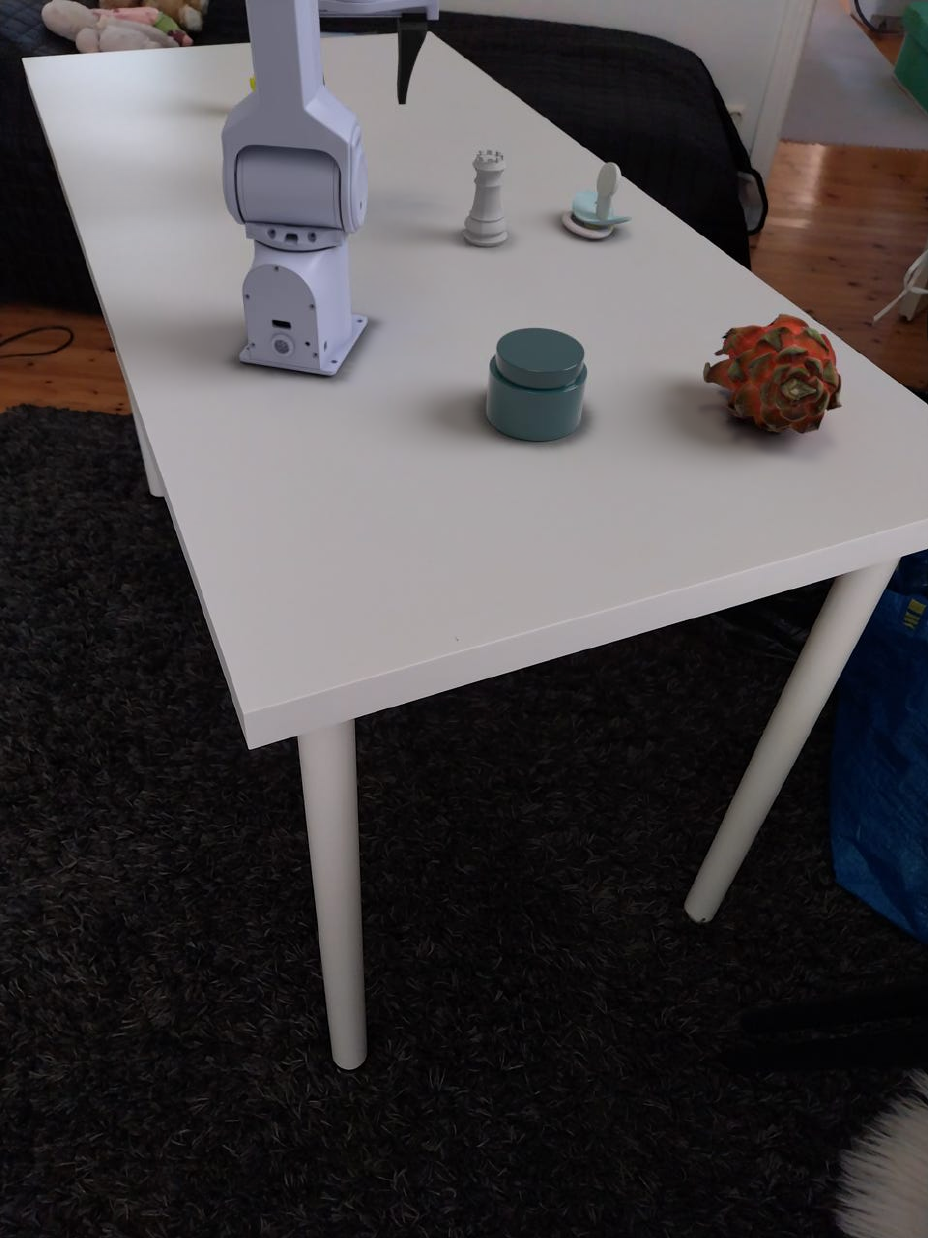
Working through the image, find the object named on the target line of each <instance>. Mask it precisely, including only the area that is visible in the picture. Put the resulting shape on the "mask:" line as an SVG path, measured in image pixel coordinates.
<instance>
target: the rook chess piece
mask: <svg viewBox="0 0 928 1238" xmlns="http://www.w3.org/2000/svg"><path fill="white" fill-rule="evenodd" d="M493 150H494V149H492V148H487V149H486V154H485V150H484V149H480V150H478V152H476V158H475V159H474V160H473V161H472V167H473V169H474V171H475V173H476V175H475V177H474V178H473V182H474V184H475V191H474V195H473V196H474V197H473V201H472V206H471V209H470V210H469V211H468V215H467V216H466V217H465V219H464V223H463V226H464V227H465V229H464V230H463V231H462V235H463V237H464V238H465V240H466V241H467V242H468V243H470V244H472V245H473V246H478V247H487V248H489V247H490V248H491V247H497V246H499V245H501V244H502V243H503V242H505V240H506V239H507V238H508V236H509V235H508V232H507V231H506V230H507V229H508V220H507V219H506V217H505V212H504V211H503V208H502V201H501V188H502V186H503V184H504V180H503V178H502V174H503V173H504V171H505V170H506V168H507V163H506V161H505V159H504V153H502V151H500V150H495V154H493Z"/></svg>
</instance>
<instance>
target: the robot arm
mask: <svg viewBox="0 0 928 1238" xmlns="http://www.w3.org/2000/svg"><path fill="white" fill-rule="evenodd" d="M245 7H246V16H247V17H246V18H247V26H248V34H249V41H250V42H249V43H250V49H251V58H252V66H253V76H254V77H255V85H256V89H255V90H254V91H253V90H252V91H251V92H250V93H249V94H247V95H246V96H245V97H244V98H243V99H242V100H240V101H239V102H238V103H237V104H235V105H234V106H233V107H232V108H231V109H230V111H229V112H228V114H227V116H226V118H225V121H224V124H223V127H222V131H221V136H220V139H221V147H222V172H221V173H222V175H221V176H222V177H221V179H222V180H221V181H222V191H223V197H224V203H225V206H226V209H227V211H228V212H229V214H230V216H231V217H232V218H233V220H234V221H235V223H236V224H238V225H242V226H244V229H245V238H246V239H248V240H253V245H254V254H253V255H254V256H253V261H252V263H251V267H250V268H249V270H248V271H247V273H246V275H245V277H244V279H243V282H242V288H241V296H242V303H243V311H244V320H245V328H246V336H247V344H246V345H245V347H244V348H243V349H242V350H241V352H240V353H239V355H238V359H239V360H240V362H243V363H249V364H254V365H255V364H256V365H261V366H267V367H274V368H279V369H286V370H292V371H299V372H304V373H311V374H316V375H317V374H318V375H325V376H333V375H334V376H335V375H336V373H338V371H339V369H340V367H342V364H343V362H344V361H345V359H346V357H348V354H349V353H350V351H351V350H352V349H353V347H354V345H355V344H356V342H357V340H358V339H359V337H360V335H361V334H362V332H363V330H364V329H365V328H366V326H367V325H368V317H367V316H365V315H359V314H353V313H352V302H351V276H350V275H351V274H350V273H351V272H350V250H349V234H351V235H355V234H356V233H357V232H358V230H359V229H360V228H361V227H362V226H363V224H364V221H365V218H366V213H367V205H368V204H367V203H368V187H369V186H368V185H369V182H368V181H369V179H368V178H369V177H368V176H369V175H368V174H369V173H368V161H367V155H366V153H365V150H364V141H363V130H362V129H363V128H362V126H361V125H360V119H359V117H358V115H357V114H355V112H354V111H352V110H351V109H350V108H349V107H348V106H347V105H346V104H345V103H344V102H342V100H340V99H339V98H338V97H337V96H336V95H334V94H333V93H332V92H331V91H330V90H329V89H328V88H327V87H326V84H325V77H324V76H325V75H324V70H323V69H324V68H323V58H322V43H321V42H322V41H321V28H320V18H396V20H397V21H396V22H397V24H396V25H397V55H398V57H397V75H396V76H397V78H396V94H397V96H396V97H397V102H398V105H399V106H400V105H401V106H402V105H403V106H405V105H407V98H408V97H407V95H408V89H409V85H410V81H411V76H412V73H413V70H414V67H415V64H416V61H417V58H418V56H419V53H420V51H421V49H422V47H423V45H424V43H425V41H426V38H427V35H428V22H427V21H439V18H440V13H439V12H440V10H439V9H440V0H245Z"/></svg>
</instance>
